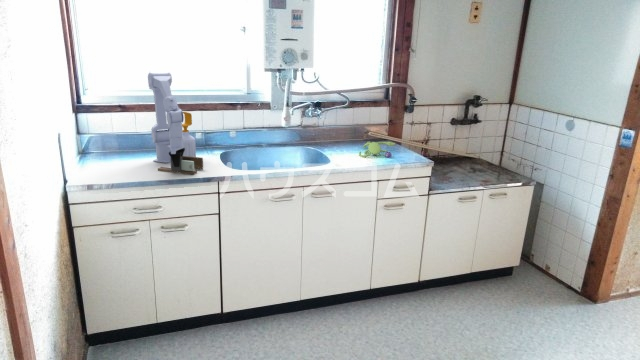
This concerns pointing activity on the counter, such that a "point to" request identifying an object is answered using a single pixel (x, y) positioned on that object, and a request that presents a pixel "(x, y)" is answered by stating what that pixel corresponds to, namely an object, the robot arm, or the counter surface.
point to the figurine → (376, 149)
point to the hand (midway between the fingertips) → (177, 165)
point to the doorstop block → (176, 167)
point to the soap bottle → (188, 137)
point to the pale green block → (187, 165)
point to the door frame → (197, 165)
